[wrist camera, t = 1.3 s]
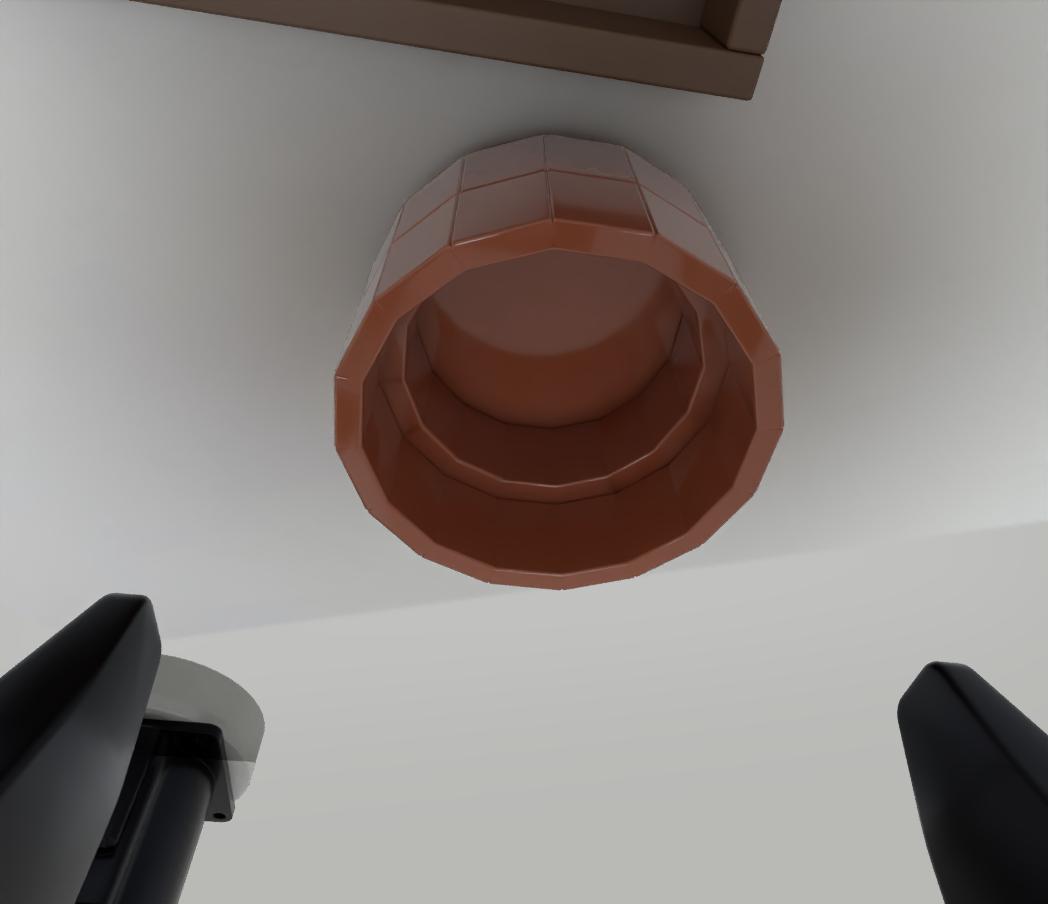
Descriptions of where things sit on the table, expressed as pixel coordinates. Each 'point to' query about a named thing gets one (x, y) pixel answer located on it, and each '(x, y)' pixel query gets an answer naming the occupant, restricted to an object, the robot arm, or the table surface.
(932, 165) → the table surface
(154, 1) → the tray
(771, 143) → the table surface
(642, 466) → the plant pot
